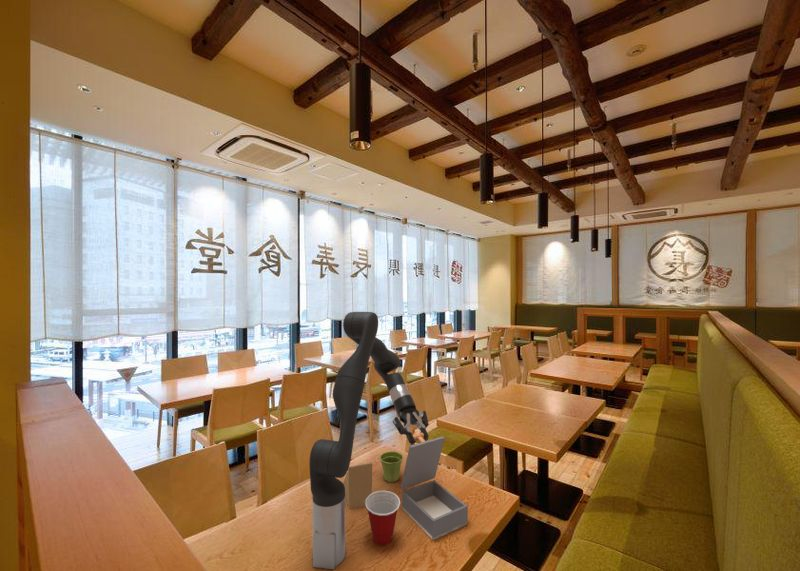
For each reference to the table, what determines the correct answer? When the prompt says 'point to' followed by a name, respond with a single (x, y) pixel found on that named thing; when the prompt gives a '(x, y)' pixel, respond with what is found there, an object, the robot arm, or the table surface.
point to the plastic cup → (382, 515)
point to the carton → (434, 509)
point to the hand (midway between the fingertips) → (420, 441)
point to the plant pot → (391, 465)
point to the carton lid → (422, 460)
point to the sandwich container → (358, 485)
